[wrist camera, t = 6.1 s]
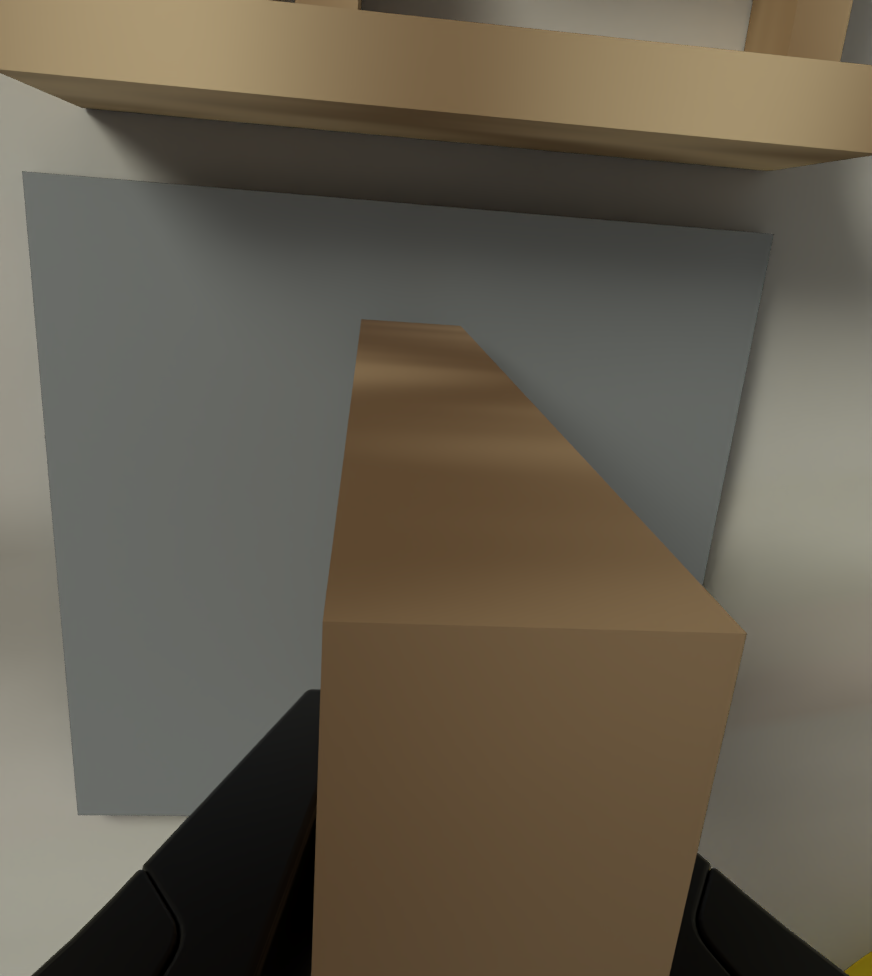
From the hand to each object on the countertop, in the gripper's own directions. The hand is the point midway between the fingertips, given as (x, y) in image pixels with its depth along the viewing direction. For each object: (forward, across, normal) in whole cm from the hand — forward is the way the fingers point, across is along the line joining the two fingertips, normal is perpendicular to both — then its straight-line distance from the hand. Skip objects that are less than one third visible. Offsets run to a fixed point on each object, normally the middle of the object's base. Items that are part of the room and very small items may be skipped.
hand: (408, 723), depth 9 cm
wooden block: (+5, 0, 0) cm, 5 cm away
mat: (+6, 0, 0) cm, 6 cm away
